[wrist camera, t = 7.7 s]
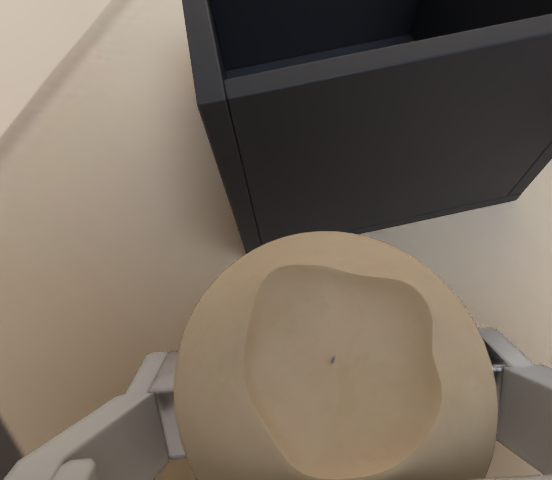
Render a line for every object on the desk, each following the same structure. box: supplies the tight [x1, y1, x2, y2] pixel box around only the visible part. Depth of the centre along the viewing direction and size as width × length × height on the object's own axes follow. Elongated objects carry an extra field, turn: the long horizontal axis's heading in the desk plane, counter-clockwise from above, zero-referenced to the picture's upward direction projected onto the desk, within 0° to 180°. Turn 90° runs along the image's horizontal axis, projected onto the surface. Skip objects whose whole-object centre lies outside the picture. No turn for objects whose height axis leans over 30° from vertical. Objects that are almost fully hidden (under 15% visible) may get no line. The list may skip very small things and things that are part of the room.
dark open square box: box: [182, 0, 552, 254], centre depth 18 cm, size 14×14×10 cm
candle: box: [174, 231, 498, 480], centre depth 10 cm, size 6×6×10 cm
